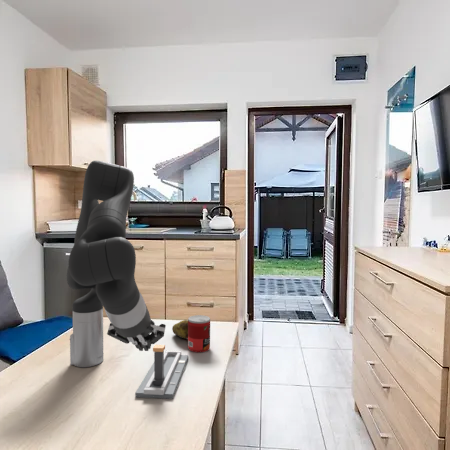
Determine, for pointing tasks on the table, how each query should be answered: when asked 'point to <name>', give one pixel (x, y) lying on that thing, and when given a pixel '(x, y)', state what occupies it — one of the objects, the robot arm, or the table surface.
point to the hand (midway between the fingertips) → (144, 346)
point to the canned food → (199, 333)
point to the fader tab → (158, 364)
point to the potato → (181, 329)
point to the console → (172, 373)
